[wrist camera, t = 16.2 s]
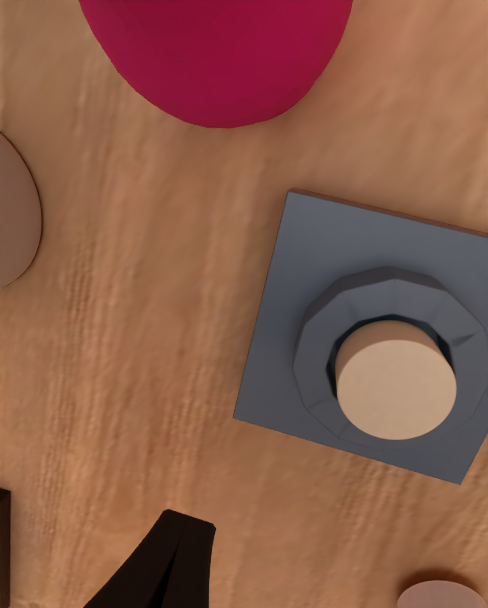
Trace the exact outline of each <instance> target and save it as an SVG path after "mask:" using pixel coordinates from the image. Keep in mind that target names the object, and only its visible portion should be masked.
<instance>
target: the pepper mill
mask: <svg viewBox="0 0 488 608" xmlns="http://www.w3.org/2000/svg"><path fill="white" fill-rule="evenodd" d="M79 2H80V5H81V8H82V11H83V13H84V15H85V17H86V19H87V22H88V24H89V26H90V28H91V30H92V32H93V34H94V35H95V37H96V38H97V40H98V42H99V43H100V45H101V46H102V48H103V49H104V51H105V53H106V54H107V56H108V57H109V59H110V60H111V62H112V63H113V65H114V66H115V68H116V69H117V71H118V72H119V73H120V74H121V75H122V77H123V78H124V79H125V80H126V81H127V82H128V83H129V84H130V85H131V86H132V87H133V88H134V89H135V90H136V91H137V92H138V93H139V94H140V95H142V96H143V97H144V98H146V99H147V100H148V101H150V102H151V103H152V104H154V105H155V106H157V107H158V108H160V109H161V110H163V111H165V112H166V113H168V114H170V115H172V116H174V117H176V118H178V119H180V120H182V121H184V122H187V123H191V124H195V125H199V126H203V127H207V128H235V127H240V126H245V125H250V124H254V123H257V122H261V121H265V120H268V119H271V118H274V117H276V116H278V115H280V114H282V113H284V112H285V111H287V110H288V109H289V108H291V107H292V106H294V105H295V104H296V103H297V102H298V101H299V100H300V99H301V98H302V97H303V96H304V95H305V94H306V93H307V92H308V91H309V90H310V88H311V87H312V85H313V84H314V82H315V81H316V80H317V78H318V77H319V76H320V75H321V73H322V72H323V70H324V69H325V67H326V66H327V64H328V63H329V61H330V59H331V58H332V56H333V54H334V52H335V50H336V48H337V46H338V44H339V42H340V40H341V38H342V36H343V33H344V30H345V27H346V24H347V21H348V18H349V15H350V12H351V7H352V2H353V0H79Z"/></svg>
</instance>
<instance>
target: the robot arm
mask: <svg viewBox="0 0 488 608" xmlns="http://www.w3.org/2000/svg"><path fill="white" fill-rule="evenodd" d="M215 531H216V527H215V526H214V524H212V523H209V522H206V521H203V520H200V519H197V518H194V517H191V516H188V515H185V514H182V513H179V512H176V511H173V510H170V509H167V510H164V511H163V512H162V514H161V515H160V517H159V519H158V520H157V521H156V523H155V524H154V526H153V527H152V529H151V530H150V531H149V533H148V534H147V535H146V537H145V538H144V539H143V540H142V542H141V543H140V544H139V545H138V547H137V548H136V549H135V550H134V552H133V553H132V554H131V555H130V557H129V558H128V559H127V560H126V561H125V562H124V563H123V565H122V566H121V567H120V568H119V569H118V570H117V571H116V573H115V574H114V575H113V576H112V577H111V578H110V580H109V581H108V582H107V583H106V584H105V585H104V586H103V587H102V588H101V589H100V590H99V591H98V592H97V594H96V595H95V596H94V597H93V598H92V599H91V600H90V601H89V602H88V603H87V604H86V605H85V606H84V607H83V608H209V578H210V563H211V554H212V546H213V541H214V535H215Z"/></svg>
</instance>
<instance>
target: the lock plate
mask: <svg viewBox="0 0 488 608" xmlns="http://www.w3.org/2000/svg"><path fill="white" fill-rule="evenodd" d="M9 578H10V491H7V490H4V489H1V488H0V608H9Z"/></svg>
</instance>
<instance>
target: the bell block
mask: <svg viewBox="0 0 488 608" xmlns="http://www.w3.org/2000/svg"><path fill="white" fill-rule="evenodd" d="M383 320H395V321H402V322H406V323H409V324H412V325H414V326H416V327H418V328H420V329H421V330H423V331H424V332H425V333H427V334H428V335H429V336H430V337H431V338H432V339H433V341H434V342H435V344H436V345H437V347H438V348H439V350H440V351H441V353H442V355H443V356H444V358H445V359H446V361H447V362H448V364H449V365H450V367H451V369H452V371H453V373H454V376H455V380H456V387H457V390H456V398H455V402H454V405H453V407H452V409H451V411H450V413H449V414H448V416H447V417H446V418H445V420H444V421H443V422H442V423H441V424H439V425H438V426H437V427H436V428H434V429H433V430H431V431H429V432H428V433H425V434H423V435H421V436H418V437H414V438H410V439H402V440H390V439H383V438H379V437H375V436H372V435H370V434H368V433H365V432H363V431H362V430H360V429H359V428H357V427H356V426H355V425H354V424H352V423H351V421H350V420H349V419H348V418H347V417H346V416H345V414H344V413H343V411H342V409H341V407H340V404H339V402H338V397H337V387H336V373H335V362H336V357H337V353H338V351H339V348H340V347H341V345H342V343H343V342H344V341H345V340H346V338H347V337H348V336H349V335H350V334H351V333H353V332H354V331H355V330H357V329H359V328H360V327H362V326H364V325H367V324H369V323H373V322H376V321H383ZM233 418H235V419H238V420H242V421H245V422H248V423H252V424H255V425H259V426H262V427H265V428H269V429H272V430H275V431H279V432H282V433H286V434H289V435H292V436H296V437H299V438H303V439H306V440H309V441H313V442H316V443H320V444H323V445H326V446H330V447H333V448H337V449H340V450H343V451H347V452H350V453H354V454H357V455H360V456H364V457H367V458H371V459H374V460H377V461H381V462H384V463H387V464H391V465H394V466H398V467H401V468H404V469H408V470H411V471H415V472H418V473H421V474H425V475H428V476H432V477H435V478H438V479H442V480H445V481H449V482H452V483H455V484H459V485H460V484H461V483H462V481H463V479H464V477H465V475H466V473H467V471H468V469H469V467H470V465H471V464H472V462H473V460H474V458H475V456H476V454H477V452H478V450H479V448H480V446H481V444H482V443H483V441H484V439H485V437H486V435H487V433H488V233H484V232H480V231H475V230H471V229H467V228H463V227H458V226H454V225H450V224H446V223H441V222H437V221H433V220H428V219H424V218H420V217H416V216H411V215H407V214H403V213H399V212H394V211H390V210H386V209H382V208H377V207H373V206H369V205H365V204H360V203H356V202H352V201H348V200H343V199H339V198H335V197H331V196H326V195H322V194H318V193H313V192H309V191H305V190H301V189H296V188H291V189H290V190H289V191H288V192H287V196H286V200H285V205H284V209H283V213H282V217H281V221H280V225H279V229H278V233H277V237H276V242H275V246H274V250H273V254H272V258H271V262H270V266H269V270H268V274H267V278H266V283H265V287H264V291H263V295H262V299H261V303H260V307H259V311H258V315H257V320H256V324H255V328H254V332H253V336H252V340H251V344H250V348H249V352H248V356H247V361H246V365H245V369H244V373H243V377H242V381H241V385H240V389H239V393H238V398H237V402H236V406H235V410H234V414H233Z"/></svg>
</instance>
